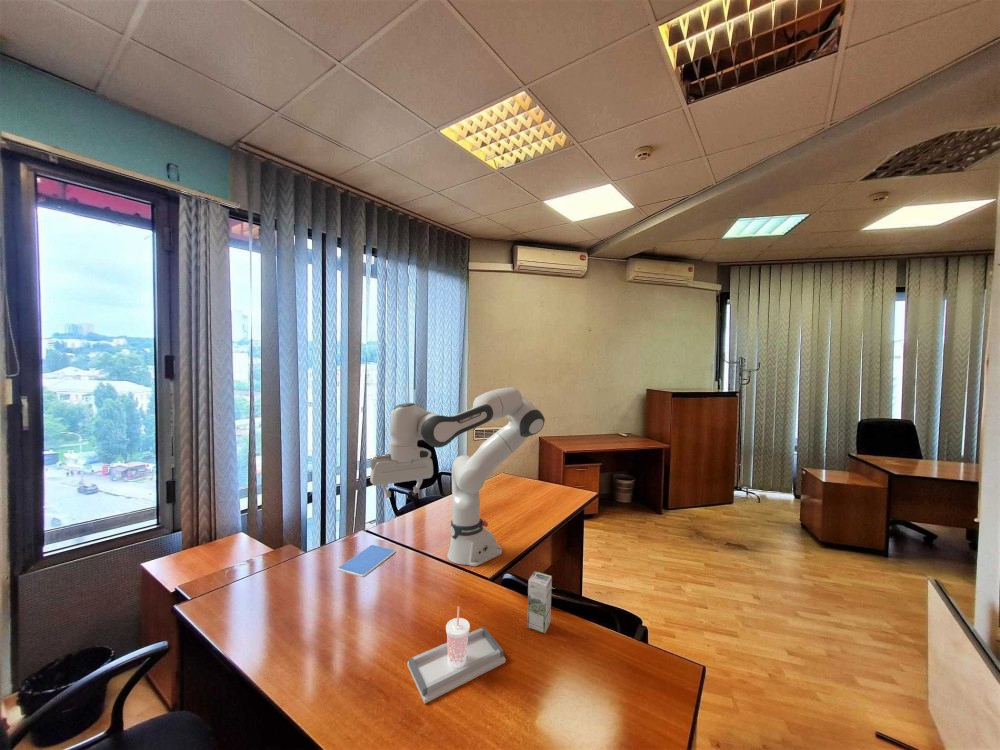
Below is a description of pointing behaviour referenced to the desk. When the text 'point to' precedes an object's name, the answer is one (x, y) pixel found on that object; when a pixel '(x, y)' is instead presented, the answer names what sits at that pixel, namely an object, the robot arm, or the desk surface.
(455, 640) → the beverage cup
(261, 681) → the desk surface
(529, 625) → the syrup box
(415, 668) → the rectangular tray
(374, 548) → the tablet computer
